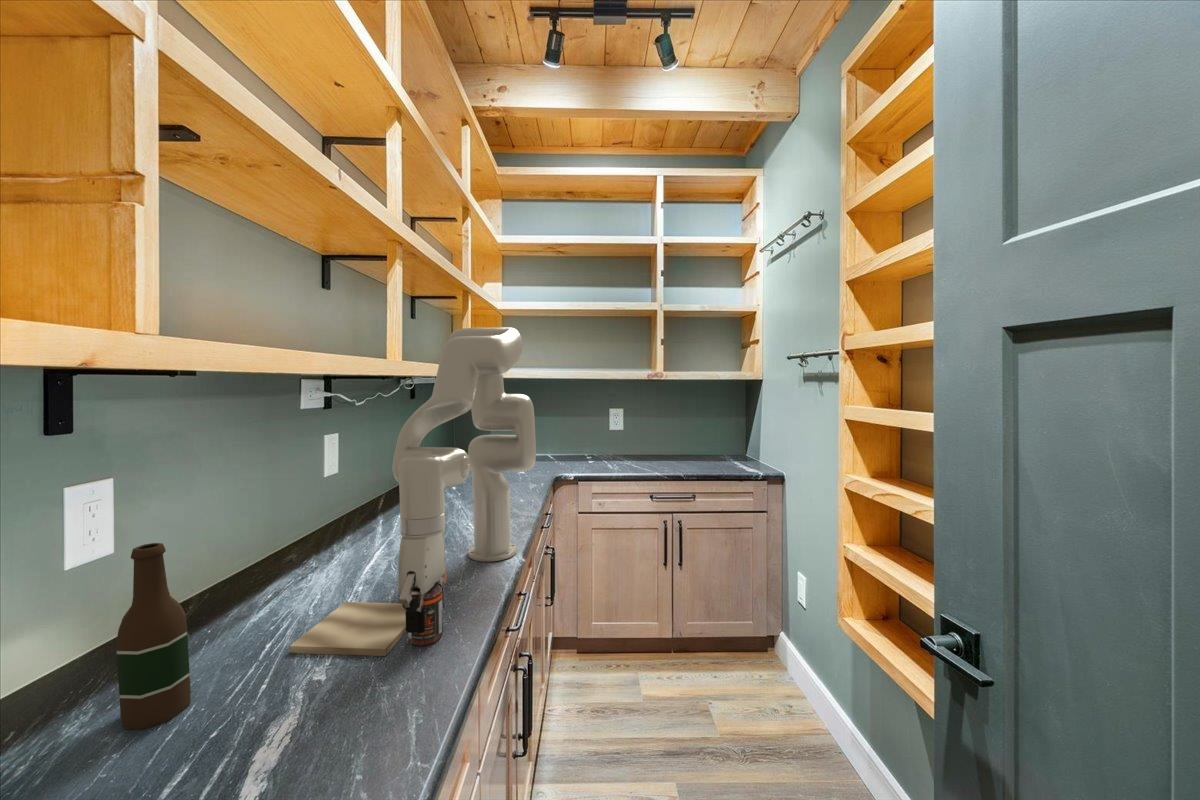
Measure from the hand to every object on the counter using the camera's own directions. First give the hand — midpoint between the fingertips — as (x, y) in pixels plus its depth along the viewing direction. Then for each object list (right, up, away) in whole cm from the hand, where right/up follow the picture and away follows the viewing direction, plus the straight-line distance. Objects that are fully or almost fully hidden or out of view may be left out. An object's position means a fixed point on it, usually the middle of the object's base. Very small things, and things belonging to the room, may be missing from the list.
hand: (425, 619), depth 87 cm
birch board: (-13, -3, +3) cm, 14 cm away
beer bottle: (-31, -5, -19) cm, 37 cm away
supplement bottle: (0, -4, 0) cm, 4 cm away
